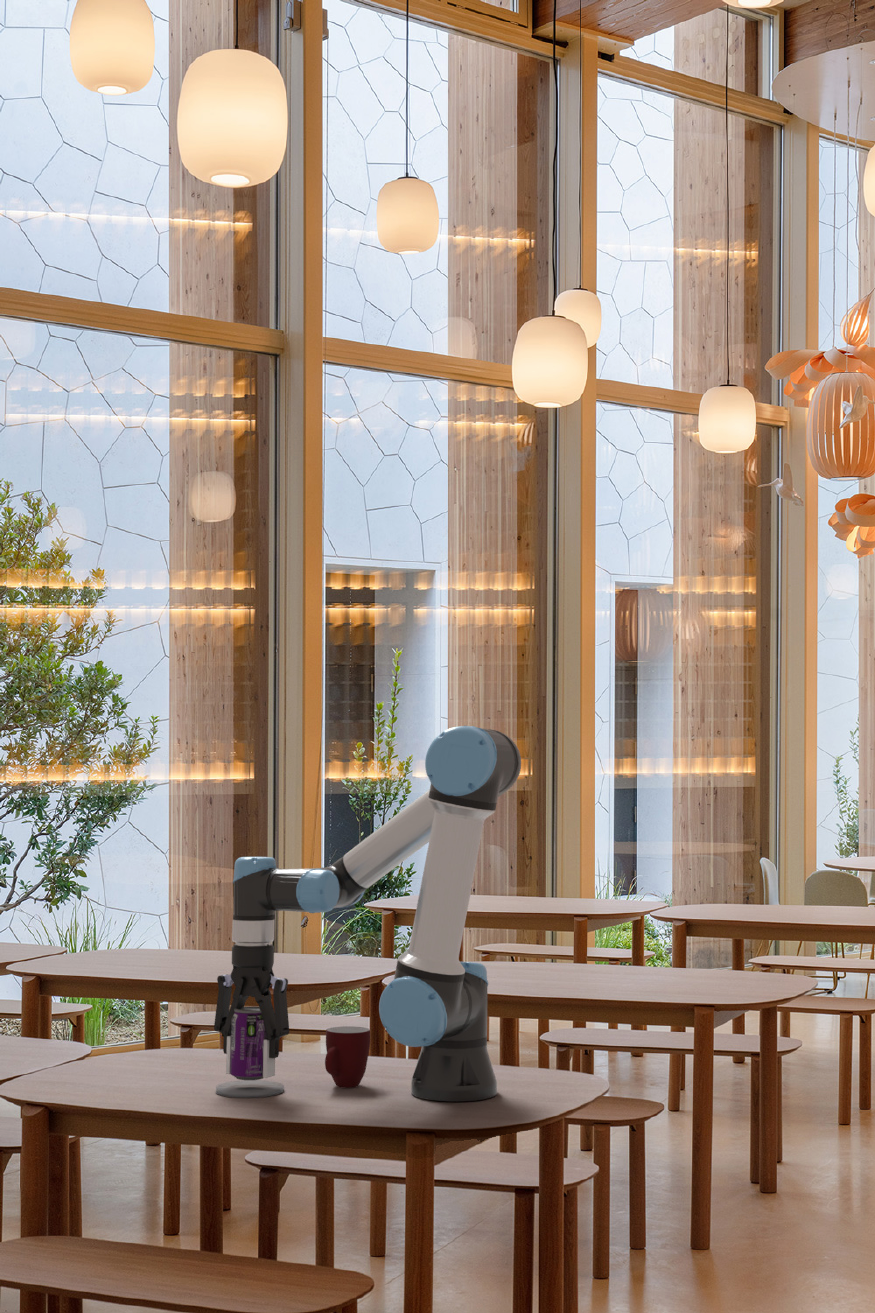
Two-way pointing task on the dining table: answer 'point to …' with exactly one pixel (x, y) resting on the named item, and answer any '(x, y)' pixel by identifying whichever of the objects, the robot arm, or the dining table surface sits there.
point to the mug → (347, 1054)
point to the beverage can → (247, 1044)
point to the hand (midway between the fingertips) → (250, 1074)
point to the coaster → (249, 1089)
